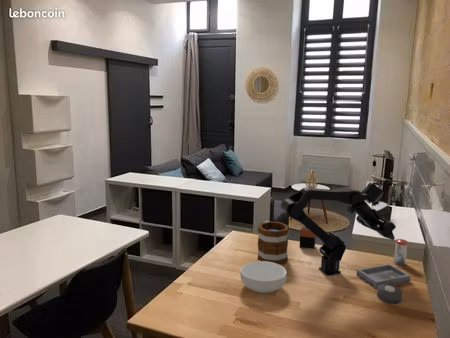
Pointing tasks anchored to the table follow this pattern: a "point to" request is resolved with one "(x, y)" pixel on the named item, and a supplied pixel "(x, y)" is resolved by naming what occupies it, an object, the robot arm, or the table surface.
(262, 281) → the cereal bowl
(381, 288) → the trolley wheel
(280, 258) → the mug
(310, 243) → the battery
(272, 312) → the table surface
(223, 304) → the table surface
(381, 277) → the tray
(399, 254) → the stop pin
